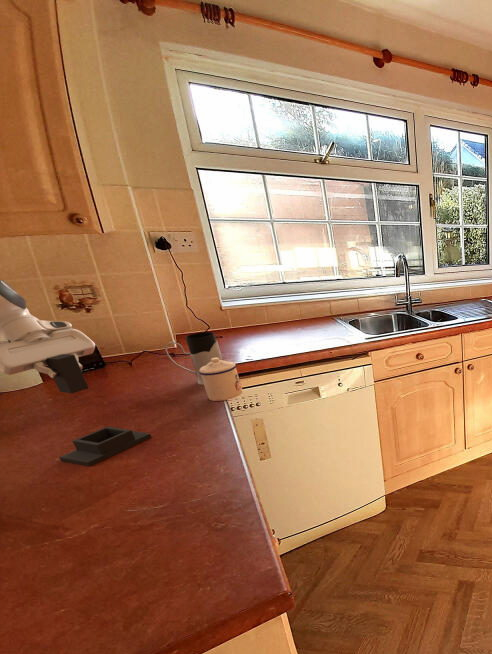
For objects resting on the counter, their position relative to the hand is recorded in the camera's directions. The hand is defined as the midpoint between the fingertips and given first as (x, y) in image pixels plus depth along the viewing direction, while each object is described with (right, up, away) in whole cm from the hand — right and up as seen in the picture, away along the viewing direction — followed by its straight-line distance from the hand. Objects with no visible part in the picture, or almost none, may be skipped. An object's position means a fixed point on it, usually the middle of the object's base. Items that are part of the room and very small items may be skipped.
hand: (68, 372), depth 117 cm
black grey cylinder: (+23, -2, +20) cm, 31 cm away
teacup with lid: (+37, -6, +9) cm, 39 cm away
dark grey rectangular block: (-1, -5, +2) cm, 5 cm away
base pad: (+30, -18, -19) cm, 40 cm away
